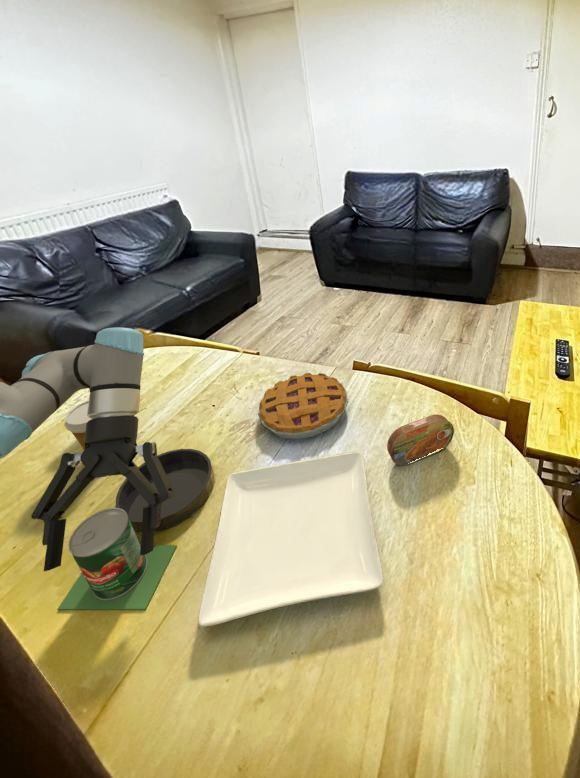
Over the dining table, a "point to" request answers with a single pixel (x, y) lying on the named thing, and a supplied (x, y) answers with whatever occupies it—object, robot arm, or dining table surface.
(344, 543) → the square plate
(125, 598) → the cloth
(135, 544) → the canned tomato
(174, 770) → the dining table surface
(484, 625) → the dining table surface
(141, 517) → the pan
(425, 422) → the tin
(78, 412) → the disposable coffee cup
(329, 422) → the pie
